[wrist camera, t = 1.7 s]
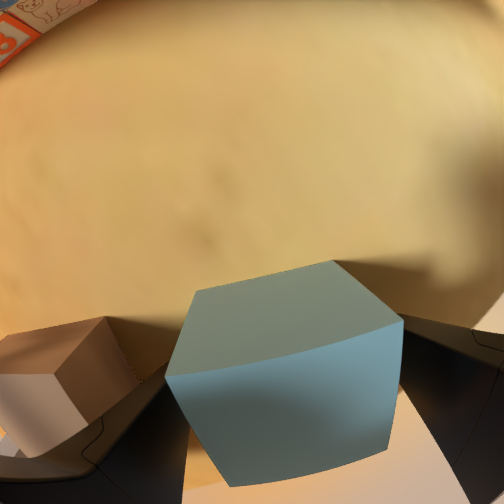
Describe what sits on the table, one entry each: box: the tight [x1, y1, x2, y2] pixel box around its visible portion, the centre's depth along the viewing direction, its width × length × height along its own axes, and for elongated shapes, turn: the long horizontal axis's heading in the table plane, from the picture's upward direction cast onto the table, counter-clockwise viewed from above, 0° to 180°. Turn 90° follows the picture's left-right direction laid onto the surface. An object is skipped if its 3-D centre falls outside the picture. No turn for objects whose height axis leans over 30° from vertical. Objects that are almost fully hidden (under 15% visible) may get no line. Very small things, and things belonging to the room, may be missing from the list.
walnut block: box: [0, 316, 140, 458], centre depth 8 cm, size 7×7×4 cm
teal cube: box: [165, 260, 404, 487], centre depth 7 cm, size 4×4×4 cm
